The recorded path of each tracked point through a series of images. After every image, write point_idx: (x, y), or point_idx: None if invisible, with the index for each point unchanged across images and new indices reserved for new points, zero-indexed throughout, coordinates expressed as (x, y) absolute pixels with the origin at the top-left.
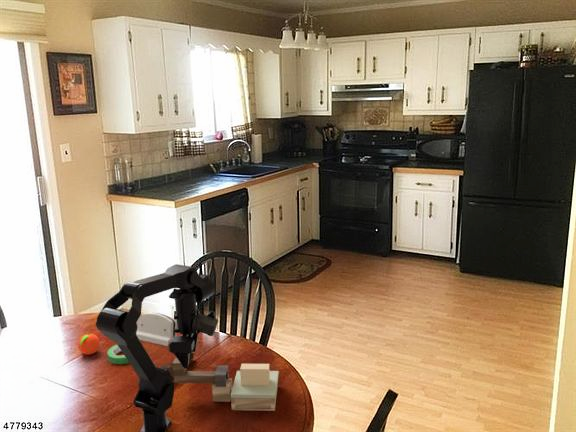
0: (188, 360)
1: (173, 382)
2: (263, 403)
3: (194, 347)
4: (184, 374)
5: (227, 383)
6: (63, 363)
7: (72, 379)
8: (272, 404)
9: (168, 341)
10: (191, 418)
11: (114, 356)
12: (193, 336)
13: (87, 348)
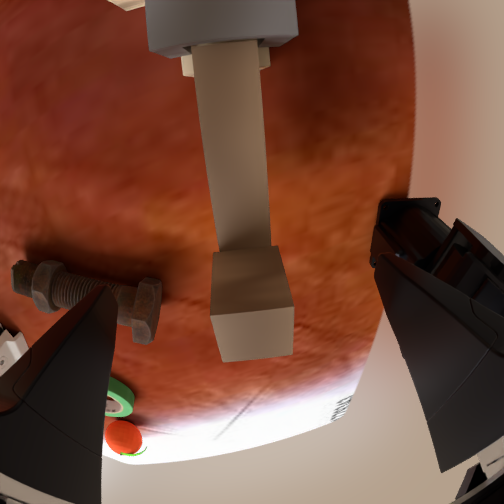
0: (449, 289)
1: (488, 270)
2: None
3: (96, 316)
4: (262, 247)
5: None
6: (170, 435)
7: (210, 421)
8: None
9: (14, 339)
10: (373, 132)
11: (128, 408)
12: (55, 414)
13: (137, 438)
